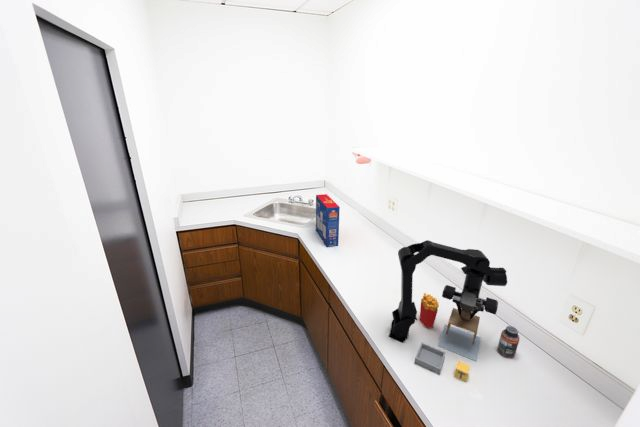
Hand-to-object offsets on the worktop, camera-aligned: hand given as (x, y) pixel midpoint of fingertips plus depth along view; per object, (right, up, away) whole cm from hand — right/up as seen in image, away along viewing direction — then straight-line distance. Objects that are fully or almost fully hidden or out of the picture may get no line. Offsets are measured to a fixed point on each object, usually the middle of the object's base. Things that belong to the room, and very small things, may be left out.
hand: (465, 316), depth 116 cm
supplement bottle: (+15, -14, -1) cm, 20 cm away
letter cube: (-7, -17, -11) cm, 21 cm away
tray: (-16, -15, -5) cm, 22 cm away
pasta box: (-53, +23, +93) cm, 109 cm away
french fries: (-10, -8, +14) cm, 19 cm away
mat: (-1, -12, +4) cm, 12 cm away
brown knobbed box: (-1, -7, +2) cm, 7 cm away
